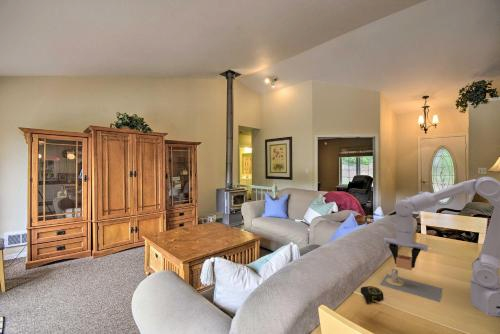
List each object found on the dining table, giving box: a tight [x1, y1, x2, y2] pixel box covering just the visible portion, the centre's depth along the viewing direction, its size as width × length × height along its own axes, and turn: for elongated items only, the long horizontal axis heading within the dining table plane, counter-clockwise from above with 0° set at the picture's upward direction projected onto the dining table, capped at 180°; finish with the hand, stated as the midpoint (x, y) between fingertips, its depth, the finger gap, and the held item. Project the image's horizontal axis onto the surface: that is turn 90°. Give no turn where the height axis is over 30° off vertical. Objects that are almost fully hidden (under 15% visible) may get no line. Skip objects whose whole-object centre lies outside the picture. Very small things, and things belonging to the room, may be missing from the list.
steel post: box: [391, 268, 399, 283], centre depth 98 cm, size 2×2×6 cm
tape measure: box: [360, 285, 385, 304], centre depth 88 cm, size 7×7×4 cm
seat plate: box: [379, 274, 444, 303], centre depth 94 cm, size 19×12×2 cm, turn 48°
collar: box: [395, 254, 413, 271], centre depth 95 cm, size 5×5×4 cm
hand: (404, 265), depth 95 cm, fingers closed on collar, 5 cm apart
